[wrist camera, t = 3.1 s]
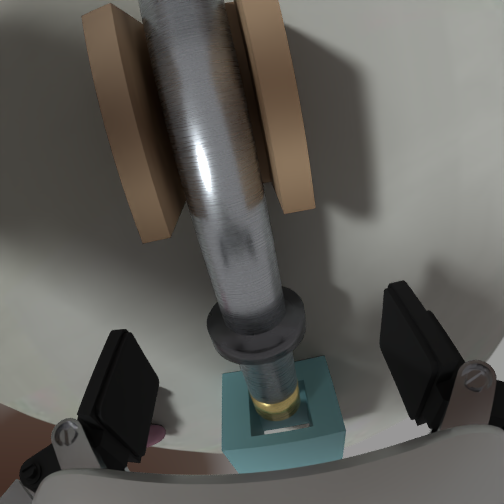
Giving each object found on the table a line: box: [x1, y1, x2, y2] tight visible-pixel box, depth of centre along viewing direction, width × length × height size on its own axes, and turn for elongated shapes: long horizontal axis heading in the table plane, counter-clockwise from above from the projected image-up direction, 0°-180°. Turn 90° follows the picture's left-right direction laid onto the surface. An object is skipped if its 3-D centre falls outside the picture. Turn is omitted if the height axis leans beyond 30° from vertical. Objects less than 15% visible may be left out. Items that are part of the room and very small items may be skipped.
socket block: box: [222, 356, 346, 474], centre depth 24 cm, size 8×9×8 cm
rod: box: [138, 0, 306, 421], centre depth 15 cm, size 26×5×5 cm, turn 11°
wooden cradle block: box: [81, 0, 315, 244], centre depth 12 cm, size 10×7×7 cm
